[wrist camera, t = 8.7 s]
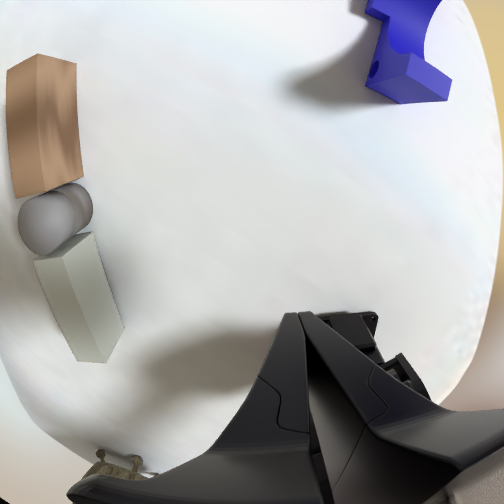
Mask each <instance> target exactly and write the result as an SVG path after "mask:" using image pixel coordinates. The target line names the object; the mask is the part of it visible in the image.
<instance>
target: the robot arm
mask: <svg viewBox="0 0 504 504" xmlns="http://www.w3.org/2000/svg"><path fill="white" fill-rule="evenodd" d="M372 317H374V318H372ZM371 318H372V319H371ZM377 322H378V316H377V314H376V313H375V312H368V313H358V314H349V315H339V316H332V317H321V318H318V317H317V316H316V315H314V314H313V313H312V312H310V311H306V312H299V313H298V314H297V313H296V312H293V313H285V314H284V316H283V318H282V321H281V323H280V325H279V328H278V330H277V332H276V335H275V337H274V339H273V342H272V344H271V346H270V349H269V351H268V353H267V355H266V358H265V360H264V362H263V364H262V367H261V369H260V371H259V373H258V376H257V378H256V380H255V382H254V384H253V386H252V388H251V390H250V392H249V394H248V396H247V398H246V399H245V401H244V402H243V404H242V405H241V407H240V409H239V410H238V412H237V413H236V414H235V416H234V417H233V419H232V420H231V421H230V423H229V424H228V425H227V427H226V428H225V429H224V431H223V432H222V434H221V435H220V436H219V438H218V439H217V440H216V441H215V443H214V444H213V445H212V446H211V447H210V448H209V449H208V450H207V451H206V452H204V453H203V454H202V455H200V456H198V457H196V458H194V459H192V460H190V461H188V462H186V463H184V464H182V465H180V466H178V467H175V468H173V469H171V470H169V471H167V472H165V473H162V474H160V475H158V476H155V477H152V478H149V479H142V480H129V479H122V478H118V477H114V476H109V475H104V474H93V475H90V476H88V477H86V478H84V479H82V480H80V481H79V482H77V483H76V484H74V485H73V486H72V487H71V488H70V489H69V491H68V492H67V497H68V498H69V499H70V500H71V501H72V502H73V503H75V504H504V409H495V410H481V411H451V410H448V409H445V408H442V407H441V406H439V405H437V404H435V403H434V402H432V401H431V399H430V396H429V394H428V392H427V390H426V388H425V386H424V384H423V382H422V381H421V379H420V378H419V376H418V375H417V373H416V372H415V371H414V369H413V368H412V366H411V365H410V364H409V362H408V361H407V360H406V358H405V357H404V355H403V354H402V353H400V354H398V355H396V356H395V358H393V359H391V360H389V361H387V362H385V361H384V359H383V357H382V355H381V353H380V352H379V350H378V348H377V346H376V342H375V340H374V335H375V331H376V326H377ZM0 504H9V503H8V502H6V501H5V500H3V499H2V498H0Z"/></svg>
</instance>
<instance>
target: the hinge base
mask: <svg viewBox="0 0 504 504" xmlns="http://www.w3.org/2000/svg"><path fill="white" fill-rule="evenodd" d="M6 123H7V139H8V150H9V159H10V167H11V175H12V181H13V187H14V193H15V198H20V197H24V196H28V195H32V194H37V193H41V192H45V191H48V190H50V189H53V188H55V187H58V186H60V185H63V184H65V183H68V182H70V181H73V180H75V179H78V178H81V177H83V176H84V175H83V168H82V160H81V151H80V142H79V130H78V116H77V94H76V63H72V62H69V61H65V60H61V59H57V58H54V57H50V56H46V55H41V54H36V55H34V56H32V57H30V58H28V59H26V60H24V61H23V62H21V63H19V64H17V65H15V66H14V67H12V68H10V69H9V70H7V77H6ZM51 191H59V192H61V193H63V194H64V195H65V196H67V197H68V199H69V200H70V201H71V203H72V205H73V207H74V210H75V214H76V227H75V231H74V233H73V235H75V234H76V233H77V232H79V231H80V230H81V229H83V228H84V227H86V226H87V225H88V224H89V222H90V220H91V218H92V214H93V204H92V200H91V197H90V195H89V193H88V192H87V191H86V189H85V188H84V187H82V186H81V185H79V184H76V183H68V184H65V185H63V186H60V187H58V188H56V189H53V190H51ZM73 235H72V236H73ZM72 236H71V237H72ZM71 237H70V238H71Z"/></svg>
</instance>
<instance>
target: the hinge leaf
mask: <svg viewBox="0 0 504 504" xmlns="http://www.w3.org/2000/svg"><path fill="white" fill-rule="evenodd" d="M75 227H76V214H75V210H74V207H73V205H72V203H71V201H70V200H69V199H68V197H67V196H65V195H64V194H63V193H61V192H59V191H49V192H46V193H44V194H42V195H39V196H37V197H35V198H33V199H30V200H28V201H26V202H25V203H24V204H23V205H22V207H21V208H20V211H19V214H18V228H19V232H20V235H21V238H22V240H23V242H24V243H25V245H26V246H27V247H28V248H29V249H30V250H31V251H32V252H34V253H36V254H39V256H38V257H37V258H36V259H34V260H33V261H32V262H33V265H34V268H35V270H36V273H37V276H38V278H39V281H40V284H41V286H42V289H43V291H44V294H45V296H46V298H47V301H48V303H49V305H50V308H51V310H52V312H53V314H54V317H55V319H56V321H57V323H58V325H59V327H60V329H61V331H62V333H63V335H64V337H65V339H66V341H67V343H68V345H69V347H70V349H71V351H72V353H73V354H74V356H75V358H76V360H77V361H80V362H93V363H107V361H108V359H109V357H110V355H111V353H112V351H113V349H114V347H115V345H116V343H117V341H118V339H119V338H120V336H121V334H122V332H123V330H124V328H125V327H124V325H123V322H122V320H121V317H120V315H119V312H118V309H117V307H116V304H115V301H114V298H113V295H112V293H111V290H110V287H109V284H108V281H107V278H106V275H105V272H104V268H103V265H102V262H101V259H100V255H99V252H98V248H97V245H96V241H95V238H94V234H93V232H89V233H83V234H77V235H73V233H74V231H75ZM72 235H73V236H72ZM71 236H72V237H71ZM70 237H71V238H70Z"/></svg>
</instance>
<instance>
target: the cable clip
mask: <svg viewBox="0 0 504 504" xmlns="http://www.w3.org/2000/svg"><path fill="white" fill-rule="evenodd" d="M441 1H442V0H368V3H367V7H366V10H365V13H366V14H368V15H370V16H372V17H374V18H376V19H378V20H380V21H382V22H383V24H382V27H381V31H380V35H379V39H378V42H377V46H376V50H375V53H374V57H373V61H372V64H371V68H370V71H369V74H368V78H367V81H366V84H365V87H368V88H370V89H372V90H374V91H376V92H378V93H380V94H382V95H384V96H386V97H388V98H390V99H391V100H393V101H395V102H397V103H399V104H408V103H421V102H439V101H447V100H448V96H449V91H450V87H451V82H452V79H450V78H449V77H448V76H446V75H445V74H443V73H442V72H441V71H439V70H438V69H436V68H435V67H433V66H432V65H430V64H429V63H427V62H426V61H425V59H424V40H425V35H426V31H427V28H428V25H429V22H430V20H431V18H432V15H433V13H434V12H435V10H436V8H437V6H438V5H439V3H440V2H441Z"/></svg>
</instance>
